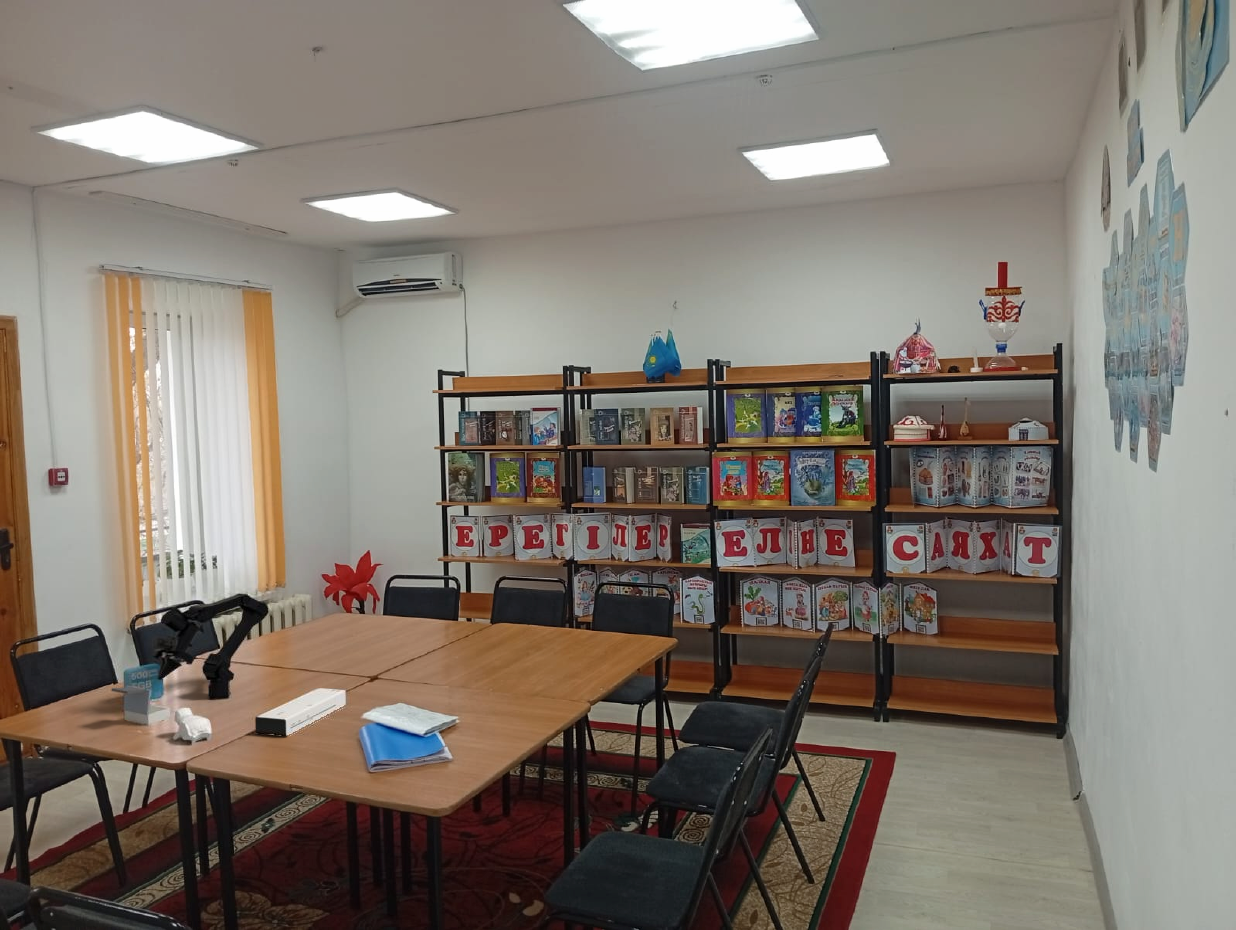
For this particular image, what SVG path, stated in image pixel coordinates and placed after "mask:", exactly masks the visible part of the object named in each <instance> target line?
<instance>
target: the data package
mask: <svg viewBox="0 0 1236 930" xmlns="http://www.w3.org/2000/svg"><path fill="white" fill-rule="evenodd" d="M160 665H161V664H157V663H149V664H145V665H138V666H134V667H129V668H126V669H124V671H123V673H122V674H123V687H126V686H132V687H137V688H143V689H148V690H151V696H150V701H152V699H153V700H156V698H157V699H160V698H162V697H163V695H164V678H163V679H162V680H158V679H157V677H158V674H159V670H160ZM124 699H125V693H123V700H124Z"/></svg>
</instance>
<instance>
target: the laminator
mask: <svg viewBox="0 0 1236 930" xmlns="http://www.w3.org/2000/svg"><path fill="white" fill-rule="evenodd" d="M344 705H346V706H347V690H346V689H337V688H325V687H324V688H323V687H318V688H316V689H313V690H311V691H310V692H307V693H305V694H303V695H301V696H298V697H297V698H294V699H292V700H289V701H288V702H286V703H284V704H281V705H279V706H277V707H275V708H273V709H271V710H268V711H265V712H263V713H262V714H259V715H258V716H255V720H254V724H255V728H254V729H255V734H256V733H258V734H257V735H261V734H274V735H281V736H280V737H282V736H287V735H289V734H292V733H293V732H295V731H298V730H299V729H301V728H302V727H305V726H306V725H308V724H311V723H312V722H314V721H315V720H318V719H320V718H321V717H324V716H326V715H327V714H330V713H331V712H333V711H334V710H337V709H339V708H340V707H343V706H344ZM298 732H299V731H298ZM292 735H293V734H292Z"/></svg>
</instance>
